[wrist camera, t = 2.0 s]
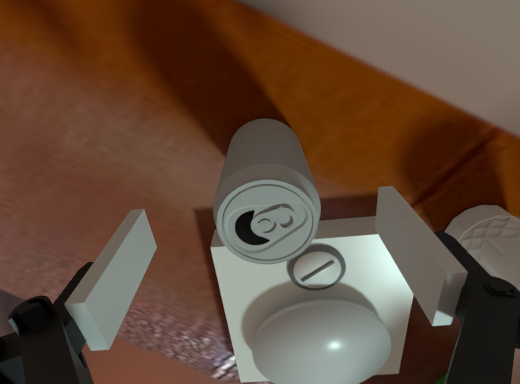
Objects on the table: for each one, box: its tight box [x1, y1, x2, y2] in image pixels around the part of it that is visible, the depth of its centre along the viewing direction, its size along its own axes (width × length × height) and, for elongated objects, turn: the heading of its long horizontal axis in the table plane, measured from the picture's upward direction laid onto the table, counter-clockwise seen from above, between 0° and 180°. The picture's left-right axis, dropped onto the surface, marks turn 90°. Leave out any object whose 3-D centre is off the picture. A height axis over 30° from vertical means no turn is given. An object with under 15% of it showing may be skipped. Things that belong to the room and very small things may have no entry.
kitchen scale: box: [210, 216, 414, 384], centre depth 34 cm, size 20×22×5 cm
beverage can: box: [213, 118, 321, 264], centre depth 22 cm, size 6×6×12 cm
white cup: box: [445, 205, 520, 291], centre depth 27 cm, size 8×8×10 cm
